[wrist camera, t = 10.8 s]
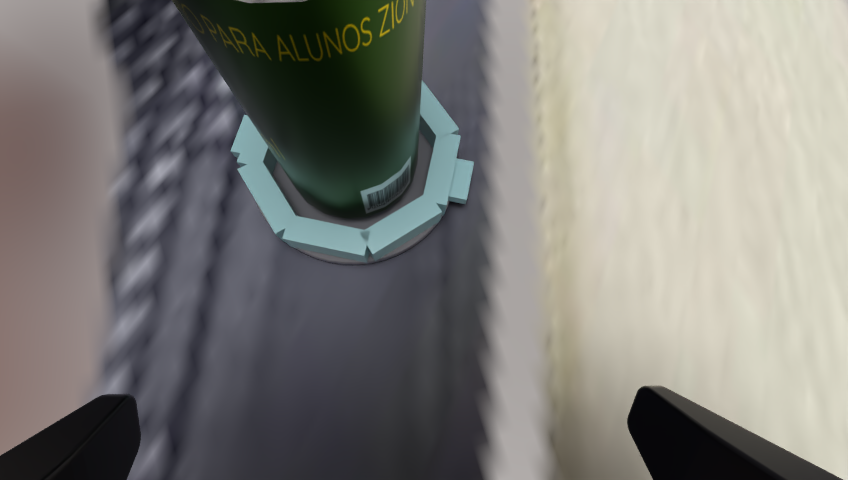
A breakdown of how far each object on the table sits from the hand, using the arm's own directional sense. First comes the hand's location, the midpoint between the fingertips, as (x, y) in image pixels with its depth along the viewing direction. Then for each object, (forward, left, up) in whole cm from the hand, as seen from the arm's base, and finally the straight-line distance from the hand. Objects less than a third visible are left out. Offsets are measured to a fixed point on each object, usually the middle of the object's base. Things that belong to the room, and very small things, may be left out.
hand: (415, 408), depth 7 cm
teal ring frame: (+8, +4, -9) cm, 13 cm away
